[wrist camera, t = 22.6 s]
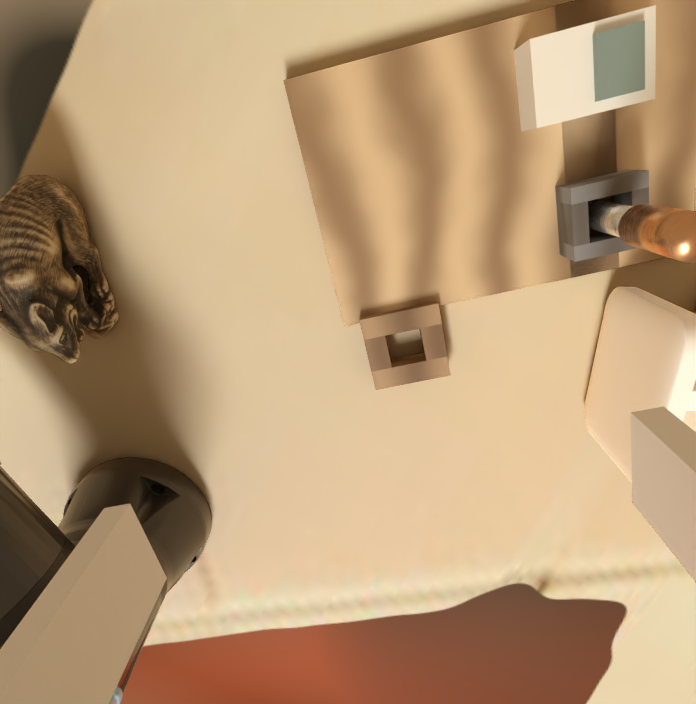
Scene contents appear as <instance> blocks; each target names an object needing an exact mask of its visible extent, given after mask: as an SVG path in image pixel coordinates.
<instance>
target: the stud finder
mask: <svg viewBox="0 0 696 704" xmlns="http://www.w3.org/2000/svg"><path fill="white" fill-rule="evenodd" d="M514 58H515V69H516V80H517V91H518V102H519V113H520V124H521V131H525V130H530V129H536V128H540V127H544V126H548V125H552V124H556V123H560V122H564V121H568V120H572V119H576V118H580V117H584V116H588V115H592V114H596V113H600V112H604V111H608V110H612V109H616V108H620V107H624V106H628V105H632V104H636V103H640V102H644V101H648V100H652V99H655V81H656V5H654V6H650V7H647V8H643V9H639V10H636V11H632V12H628V13H624V14H621V15H617V16H613V17H610V18H606V19H602V20H598V21H595V22H591V23H587V24H584V25H580V26H576V27H572V28H569V29H565V30H561V31H558V32H554V33H550V34H546V35H543V36H539V37H535V38H532V39H529V40H528V41H526V42H525V43H523V44H522V45H521V46H519V47H518V48H517V49H515V50H514Z"/></svg>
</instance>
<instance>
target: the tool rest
mask: <svg viewBox="0 0 696 704" xmlns="http://www.w3.org/2000/svg"><path fill="white" fill-rule="evenodd" d="M360 325H361V329H362V333H363V337H364V342H365V346H366V350H367V354H368V359H369V363H370V367H371V371H372V376H373V380H374V384H375V388H376V390H378V389H383V388H388V387H393V386H398V385H403V384H408V383H414V382H419V381H424V380H429V379H434V378H439V377H444V376H449V375H450V369H449V363H448V357H447V351H446V345H445V339H444V333H443V327H442V321H441V315H440V309H439V304H438V302H437V301H434V302H429V303H425V304H420V305H415V306H411V307H406V308H401V309H397V310H392V311H387V312H383V313H378V314H374V315H369V316H364V317H360ZM414 329H420V335H421V340H422V345H423V351H424V353H419V354H414V355H409V356H404V357H399V358H394V359H390V354H389V349H388V345H387V340H386V335H390V334H395V333H400V332H405V331H410V330H414Z"/></svg>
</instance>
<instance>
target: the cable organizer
mask: <svg viewBox="0 0 696 704" xmlns="http://www.w3.org/2000/svg"><path fill="white" fill-rule="evenodd" d="M663 406H664V407H665V408H666V409H668V410H669V411H670V412H671V413H673V414H674V415H675V416H676V417H678V418H679V419H680V420H681V421H682V422H684V423H685V424H686V425H687V426H689V427H690V428H691V429H692V430H694V431H695V432H696V312H695V313H692V312H690V311H688V310H686V309H684V308H681V307H679V306H677V305H675V304H673V303H670V302H668V301H666V300H664V299H662V298H659V297H657V296H655V295H653V294H651V293H648V292H646V291H644V290H642V289H640V288H637V287H617V288H615V289H614V290H613V291H612V292H611V294H610V295H609V298H608V300H607V303H606V306H605V311H604V315H603V320H602V325H601V330H600V334H599V339H598V344H597V348H596V353H595V358H594V363H593V367H592V372H591V377H590V381H589V386H588V391H587V396H586V400H585V406H584V419H585V425H586V428H587V430H588V431H589V433H590V434H591V435H592V436H593V437H594V439H595V440H596V441H597V442H598V443H599V445H600V446H601V447H602V448H603V449H604V450H605V452H606V453H607V454H608V455H609V456H610V458H611V459H612V460H613V461H614V462H615V463H616V465H617V466H618V467H619V468H620V469H621V471H622V472H623V473H624V474H625V475H626V476H627V478H628V479H629V480H630V481H631V482H632V462H631V412H636V411H641V410H647V409H652V408H658V407H663Z"/></svg>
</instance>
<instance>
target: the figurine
mask: <svg viewBox="0 0 696 704" xmlns="http://www.w3.org/2000/svg"><path fill="white" fill-rule="evenodd" d="M75 265H81V266H82V267H83V268H85V270H86V271H87V274H88V289H89V293H90V296H89V299H88V302H86V301H85V298H84V293H83V284H82V280H81V278H80V276H79V275H78V274H77V273H76V272H75V271H74V269H73V268H72V266H75ZM0 304H1V307H2V311H0V326H1V327H2V328H3V329H4V330H5V331H7V332H8V333H10V334H11V335H13V336H15V337H17V338H19V339H21V340H23V341H24V342H25V343H26V344H27V345H28V346H29V347H30V348H32V349H33V350H35V351H38V352H50V353H53V354H55V355H56V356H57V357H59V358H60V359H61V360H63V361H65V362H67V363H69V364H72V363H74V362H76V361H77V360H78V358H79V357H80V353H81V348H80V346H79V343H80V342H81V341H82V340H83V339H84V333H86V334H87V335H89V336H90V337H93V338H97V339H100V338H102V337H104V336H105V334H106V333H107V332H108V331H109V330H110V329H111V328H112V327H113V326H114V325H115V323H116V322H117V321H118V318H119V315H118V312H117V310H116V309H115V300H114V298H113V295H112V293H111V291H110V290H109V288H108V283H107V280H106V278H105V276H104V274H103V271H102V268H101V262H100V257H99V253H98V250H97V248H96V247H95V246H94V244H93V243H92V242H91V240H90V238H89V232H88V226H87V222H86V218H85V214H84V211H83V209H82V206H81V204H80V203H79V201H78V199H77V197H76V196H75V195H74V193H73V192H72V191H71V190H70V189H69V188H68V187H67V186H65V185H64V184H62V183H60V182H59V181H57V180H55V179H54V178H52V177H49V176H47V175H29V176H24V177H23V178H21V179H20V180H18V181H17V182H16V183H15V184H14V185H13V186H12V187H11V188H10V189H9V191H8V192H7V193H5V194H4V195H3V196H2V197H1V198H0Z"/></svg>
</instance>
